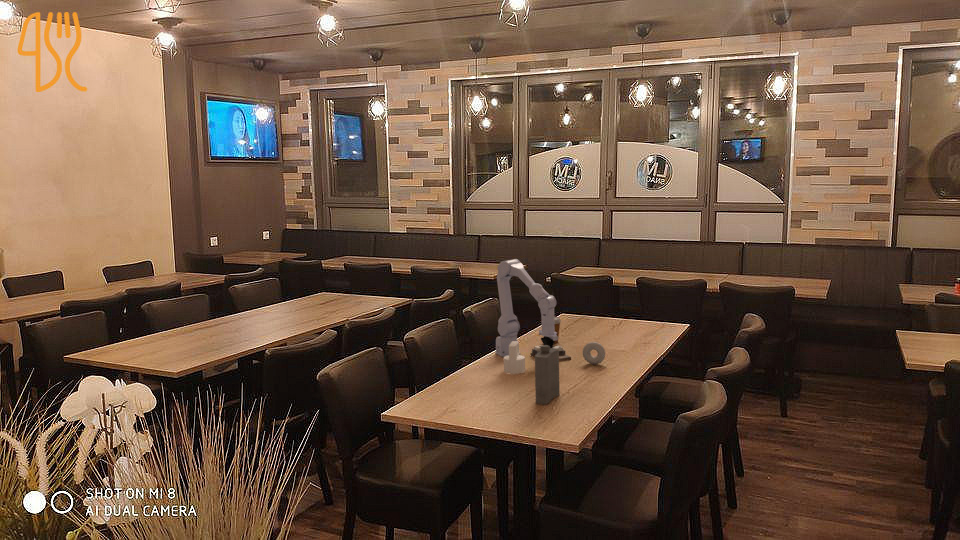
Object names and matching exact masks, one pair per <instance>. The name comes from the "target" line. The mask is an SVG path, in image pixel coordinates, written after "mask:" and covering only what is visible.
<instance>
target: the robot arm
mask: <svg viewBox="0 0 960 540" xmlns="http://www.w3.org/2000/svg"><path fill="white" fill-rule="evenodd" d="M496 267H497V273H496V274H497V275H496V282H497V283H496V284H497V289H498V290H497V291H498V299H499V306H500V314H501V315H500V317H499V318H498V321H497V322H498V324H497V332H498V334H499V335H500V336H497V337H496V339H495V354H496V355H498V356H499V357H502V358H504V357H505V356H508V355H509V345H510V343H511V342H512V341H518V332H519V331H520V328H521V325H520V322H519V320H518V316H517V315H515V313H514V308H513V301H512V294H511V293H512V291H511V287H510V286H511V285H510V280H511V278H513V277H517V278H519V279H520V281H522V282H523V283H524V284H525V286H526V287H528V289H529V293H530V295H531V296H532V297H533V298H534V299H535V301H536V302H537V305H538V307H539V310H540V316H541V317H540V319H541V324H540V325H541V329H540V330H538V335H539V336H542V337H540V340H541V343H542V345H548V346H550V348H553V346H555V343H554V342H555V341H556V340H558V341H559V337H558V336H557V335H556V334H557V332H555V327H554V317H555V307H556V306H557V299H556V297H555V296H554V295H552V294H549V292H547V291H546V290H545V289H544V287H543V285H542V284H540V283H536V282H535V280H533V278H532V277H531V276H530V275H529V273H528V272H527V270H526V269H525V267H524V264H523V263H522V262H521V261H520V260H519V259H517V258H513V259H509V260H502V261H501V262H499V264H498V265H497V266H496ZM519 355H521V353H520V352H519Z"/></svg>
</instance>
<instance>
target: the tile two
mask: <svg viewBox="0 0 960 540" xmlns="http://www.w3.org/2000/svg"><path fill="white" fill-rule="evenodd" d="M553 348H556V349H558V350H559V351H563V350H564V347H563V346H560V345H553Z"/></svg>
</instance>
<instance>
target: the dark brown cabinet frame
mask: <svg viewBox="0 0 960 540" xmlns="http://www.w3.org/2000/svg"><path fill="white" fill-rule="evenodd" d="M538 352H540V351H536V350H534V348H532V349H531V353H529V354H530V355H531V356H530V357H532V356H533V358H534V359H535V355H536V354H537V353H538ZM570 360H572V357H571V356H570V355H568V354H567V353H566V350H564V349H563V351H559V362H562V361H563V362H565V361H570Z"/></svg>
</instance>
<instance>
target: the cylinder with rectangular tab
mask: <svg viewBox="0 0 960 540" xmlns="http://www.w3.org/2000/svg"><path fill="white" fill-rule="evenodd" d="M519 353H520V341H518V340H517V341H512V342H511V343H510V345H509V355H508V356H505V357H503V372H504V373H505V374H507V373H510V374H509V375H520V374H519V373H521V374H524V373H526V357H525V355H521V354H520V355H519ZM523 372H524V373H523Z"/></svg>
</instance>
